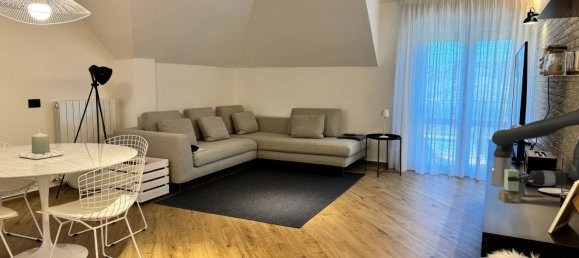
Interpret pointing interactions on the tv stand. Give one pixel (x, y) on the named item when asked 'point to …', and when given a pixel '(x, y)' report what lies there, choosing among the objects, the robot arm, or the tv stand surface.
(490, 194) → the tv stand surface
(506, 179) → the sage green block
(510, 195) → the brown box
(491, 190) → the tv stand surface
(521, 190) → the charcoal block
